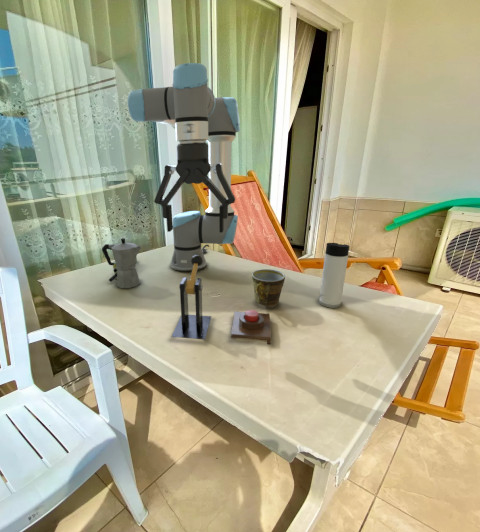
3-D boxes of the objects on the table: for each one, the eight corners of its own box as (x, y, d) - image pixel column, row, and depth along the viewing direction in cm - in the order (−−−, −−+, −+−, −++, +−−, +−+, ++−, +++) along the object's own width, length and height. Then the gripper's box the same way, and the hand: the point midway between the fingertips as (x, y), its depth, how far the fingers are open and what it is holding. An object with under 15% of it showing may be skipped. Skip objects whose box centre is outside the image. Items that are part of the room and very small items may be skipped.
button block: (234, 317, 90) (234, 305, 88) (269, 320, 88) (269, 308, 86) (231, 341, 79) (231, 328, 77) (270, 344, 77) (271, 331, 75)
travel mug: (315, 304, 96) (322, 243, 89) (323, 297, 100) (331, 238, 93) (336, 310, 92) (345, 247, 85) (343, 302, 96) (353, 242, 89)
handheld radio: (138, 261, 140) (115, 283, 117) (131, 261, 141) (107, 283, 118) (136, 247, 138) (112, 267, 115) (129, 248, 138) (104, 267, 115)
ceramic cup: (258, 294, 104) (259, 267, 100) (287, 301, 98) (289, 272, 95) (241, 310, 94) (242, 280, 91) (272, 318, 89) (274, 287, 85)
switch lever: (192, 260, 90) (191, 252, 87) (204, 261, 89) (203, 252, 86) (184, 295, 81) (182, 286, 78) (197, 295, 80) (195, 287, 78)
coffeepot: (148, 279, 120) (144, 235, 113) (140, 289, 111) (135, 242, 105) (112, 278, 122) (106, 234, 116) (101, 287, 114) (94, 241, 107)
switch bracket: (181, 317, 91) (179, 271, 86) (211, 319, 89) (211, 273, 84) (171, 340, 80) (167, 289, 75) (205, 343, 78) (203, 291, 73)
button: (245, 315, 84) (245, 309, 83) (258, 315, 83) (258, 310, 83) (244, 321, 81) (244, 316, 80) (258, 322, 80) (258, 316, 79)
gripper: (136, 144, 70) (145, 233, 78) (245, 139, 65) (243, 235, 73) (147, 144, 77) (154, 226, 85) (246, 140, 72) (244, 227, 80)
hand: (195, 230), depth 79 cm, fingers open, 13 cm apart
